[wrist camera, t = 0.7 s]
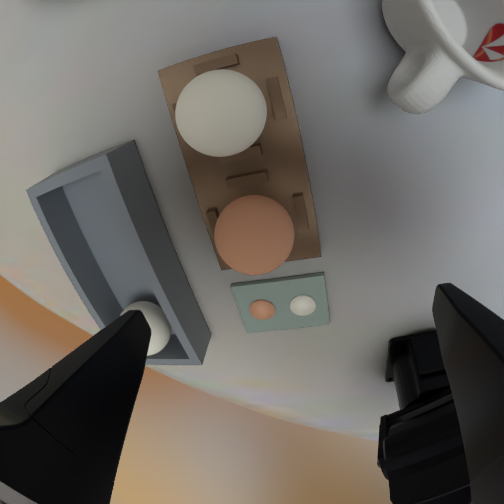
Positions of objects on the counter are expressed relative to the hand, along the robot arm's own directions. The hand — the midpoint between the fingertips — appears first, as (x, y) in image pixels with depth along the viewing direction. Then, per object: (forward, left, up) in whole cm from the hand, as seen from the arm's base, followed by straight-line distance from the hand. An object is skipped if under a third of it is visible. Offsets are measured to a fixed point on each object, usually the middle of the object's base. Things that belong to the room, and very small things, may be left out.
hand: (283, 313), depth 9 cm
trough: (-4, +13, -12) cm, 18 cm away
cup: (+8, -10, -12) cm, 18 cm away
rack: (+2, +2, -12) cm, 12 cm away
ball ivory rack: (+5, +2, -11) cm, 12 cm away
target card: (-10, +2, -12) cm, 16 cm away
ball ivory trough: (-9, +13, -12) cm, 20 cm away
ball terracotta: (-2, +2, -11) cm, 12 cm away
